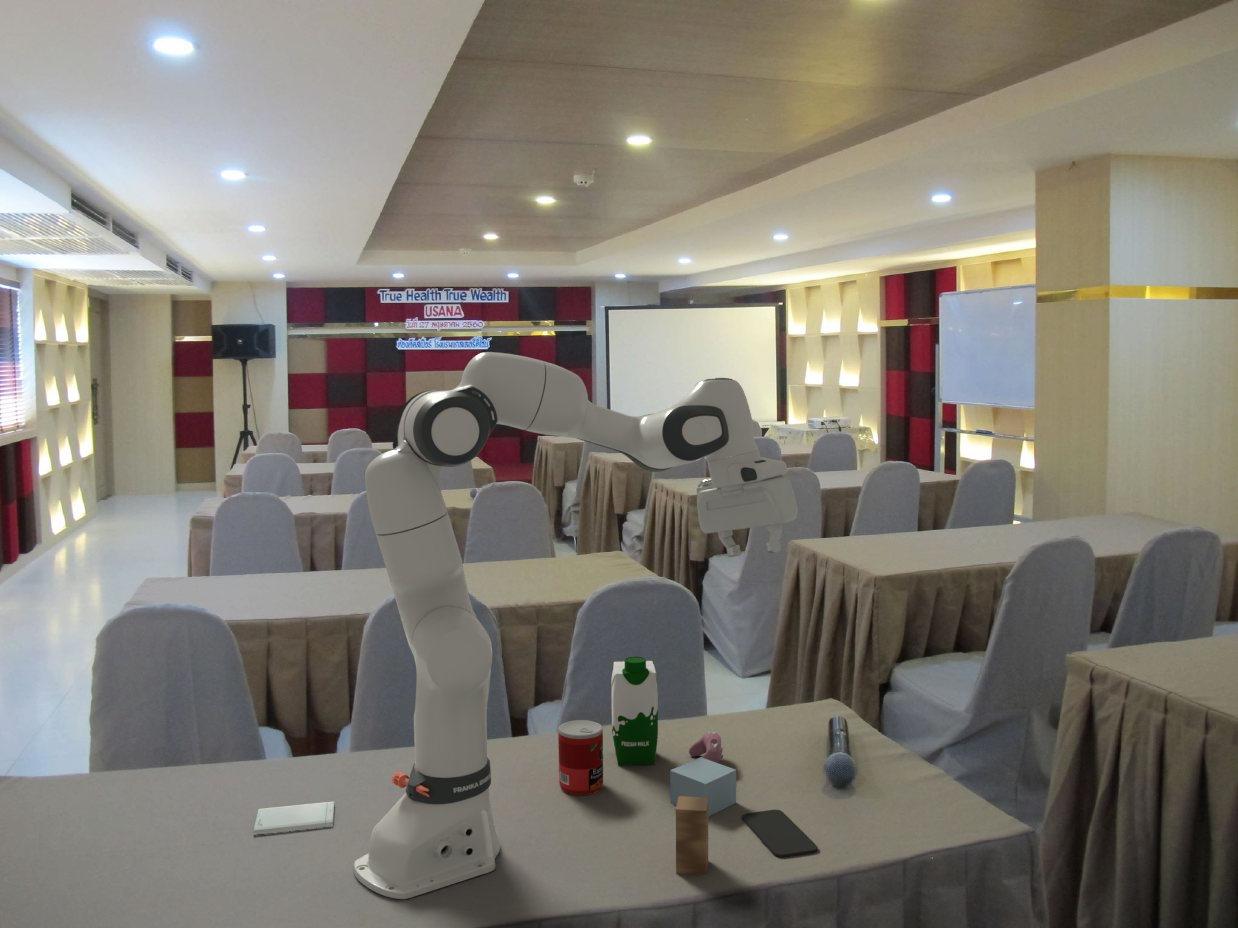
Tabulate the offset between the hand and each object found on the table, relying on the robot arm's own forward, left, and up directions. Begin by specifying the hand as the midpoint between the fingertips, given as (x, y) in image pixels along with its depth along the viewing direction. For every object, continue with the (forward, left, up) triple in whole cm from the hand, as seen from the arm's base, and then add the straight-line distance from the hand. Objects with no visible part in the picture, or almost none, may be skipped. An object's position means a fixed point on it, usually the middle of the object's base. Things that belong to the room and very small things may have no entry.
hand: (754, 554), depth 169 cm
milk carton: (+1, +29, -44) cm, 52 cm away
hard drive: (-57, +52, -44) cm, 89 cm away
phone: (-6, -9, -44) cm, 45 cm away
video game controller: (+7, +17, -44) cm, 47 cm away
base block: (-5, +7, -44) cm, 44 cm away
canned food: (-15, +27, -44) cm, 53 cm away
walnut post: (-23, -6, -44) cm, 50 cm away
